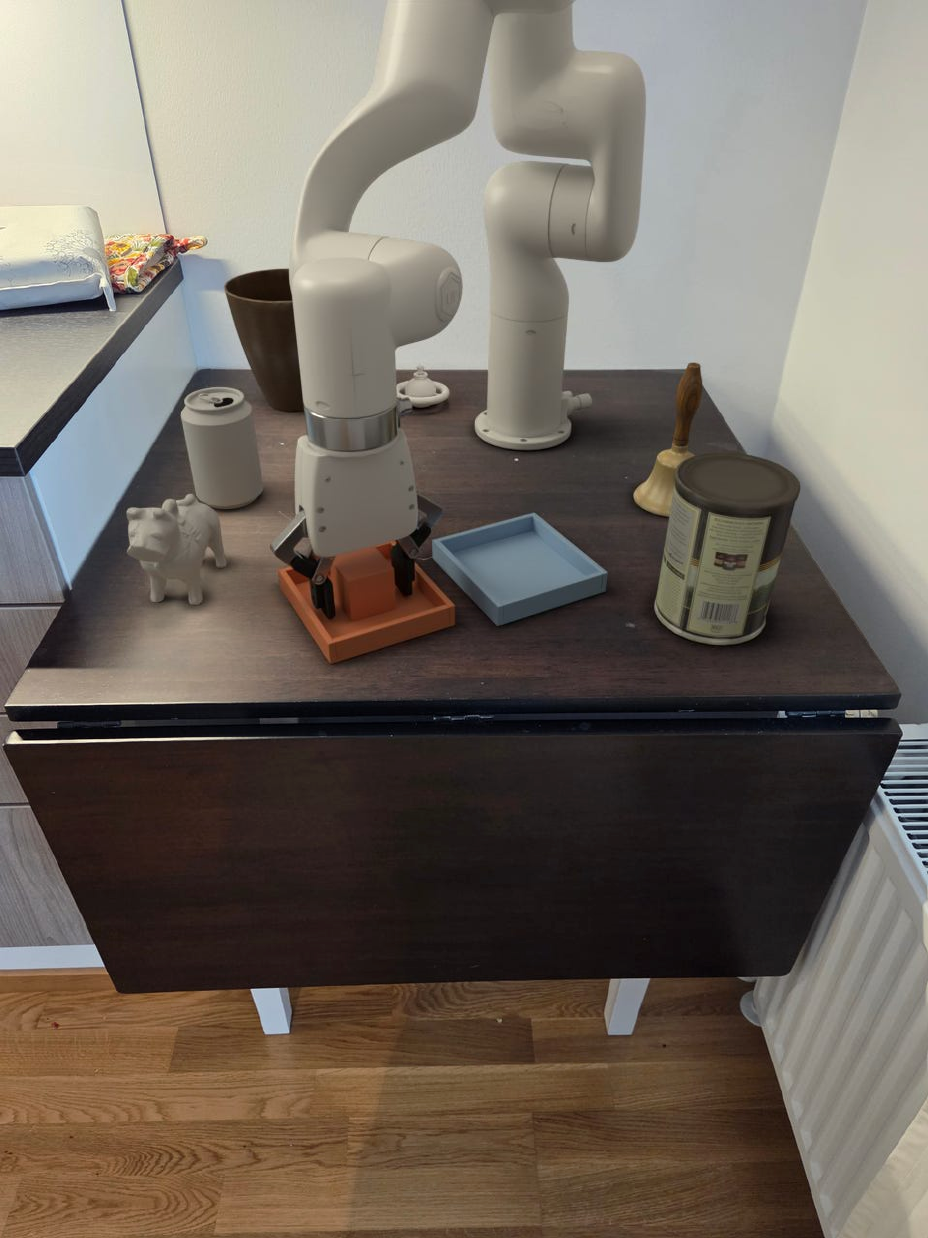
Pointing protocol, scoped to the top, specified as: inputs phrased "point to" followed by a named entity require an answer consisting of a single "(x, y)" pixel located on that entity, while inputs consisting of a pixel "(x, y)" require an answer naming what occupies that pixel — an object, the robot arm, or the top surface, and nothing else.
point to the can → (222, 447)
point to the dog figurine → (175, 543)
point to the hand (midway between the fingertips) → (364, 598)
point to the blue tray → (518, 568)
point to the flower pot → (268, 334)
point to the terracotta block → (363, 583)
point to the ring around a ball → (422, 390)
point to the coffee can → (724, 546)
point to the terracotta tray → (374, 632)
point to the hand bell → (661, 481)
